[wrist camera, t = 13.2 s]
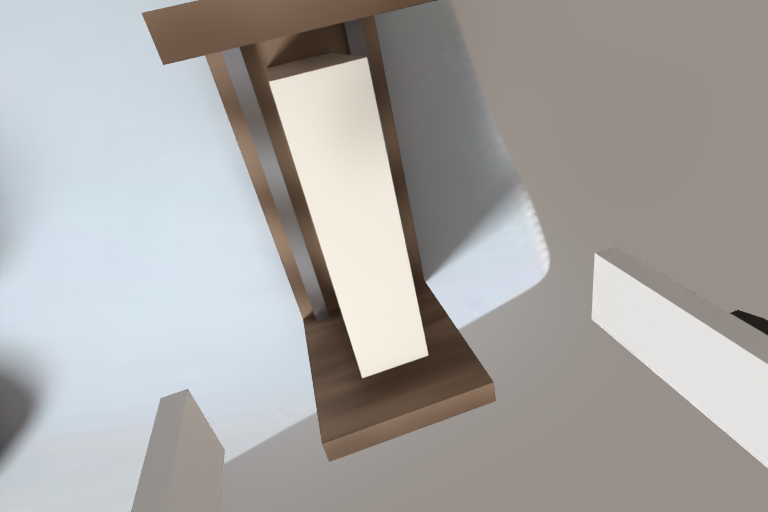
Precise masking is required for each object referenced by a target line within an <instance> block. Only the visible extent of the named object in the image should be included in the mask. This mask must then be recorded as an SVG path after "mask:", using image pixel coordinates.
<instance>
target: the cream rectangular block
mask: <svg viewBox="0 0 768 512" xmlns="http://www.w3.org/2000/svg"><path fill="white" fill-rule="evenodd" d="M266 70H267V75H268V81H269V84H270V87H271V91H272V94H273V97H274V100H275V103H276V106H277V110H278V113H279V116H280V119H281V122H282V125H283V129H284V132H285V135H286V138H287V141H288V144H289V148H290V151H291V154H292V157H293V160H294V163H295V167H296V170H297V173H298V176H299V179H300V182H301V186H302V189H303V192H304V195H305V198H306V201H307V205H308V208H309V211H310V214H311V217H312V220H313V224H314V227H315V230H316V233H317V236H318V239H319V243H320V246H321V249H322V252H323V255H324V258H325V262H326V265H327V268H328V271H329V274H330V277H331V281H332V284H333V287H334V290H335V293H336V296H337V300H338V303H339V306H340V309H341V312H342V315H343V319H344V322H345V325H346V328H347V331H348V334H349V338H350V341H351V344H352V347H353V350H354V353H355V357H356V360H357V363H358V366H359V369H360V372H361V376H362V378H365V377H368V376H370V375H373V374H376V373H379V372H382V371H385V370H388V369H391V368H394V367H397V366H399V365H402V364H405V363H408V362H411V361H414V360H417V359H420V358H423V357H426V356H428V350H427V345H426V341H425V336H424V331H423V326H422V321H421V316H420V312H419V307H418V302H417V297H416V292H415V287H414V283H413V278H412V273H411V268H410V263H409V258H408V253H407V249H406V244H405V239H404V234H403V229H402V224H401V220H400V215H399V210H398V205H397V200H396V195H395V191H394V186H393V181H392V176H391V171H390V166H389V161H388V157H387V152H386V147H385V142H384V137H383V132H382V128H381V123H380V118H379V113H378V108H377V103H376V99H375V94H374V89H373V84H372V79H371V74H370V70H369V65H368V60H367V57H361V56H354V55H348V54H341V53H334V52H330V53H326V54H322V55H318V56H314V57H310V58H306V59H302V60H298V61H294V62H289V63H285V64H281V65H277V66H273V67H269V68H266Z"/></svg>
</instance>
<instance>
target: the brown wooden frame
mask: <svg viewBox="0 0 768 512" xmlns="http://www.w3.org/2000/svg"><path fill="white" fill-rule="evenodd" d="M432 1H436V0H198V1H194V2H189V3H185V4H180V5H176V6H171V7H167V8H162V9H157V10H153V11H148V12H144V13H142V15H143V17H144V20H145V22H146V25H147V27H148V29H149V32H150V34H151V36H152V39H153V41H154V44H155V46H156V48H157V51H158V53H159V56H160V58H161V60H162V63H163V65H165V64H170V63H174V62H178V61H182V60H187V59H191V58H195V57H199V56H204V55H205V56H206V59H207V62H208V64H209V67H210V70H211V72H212V75H213V78H214V80H215V83H216V86H217V88H218V91H219V94H220V97H221V99H222V102H223V105H224V107H225V110H226V113H227V115H228V118H229V121H230V123H231V126H232V129H233V132H234V134H235V137H236V140H237V142H238V145H239V148H240V150H241V153H242V156H243V158H244V161H245V164H246V167H247V169H248V172H249V175H250V177H251V180H252V183H253V185H254V188H255V191H256V193H257V196H258V199H259V202H260V204H261V207H262V210H263V212H264V215H265V218H266V220H267V223H268V226H269V228H270V231H271V234H272V237H273V239H274V242H275V245H276V247H277V250H278V253H279V255H280V258H281V261H282V264H283V266H284V269H285V272H286V274H287V277H288V280H289V282H290V285H291V288H292V290H293V293H294V296H295V299H296V301H297V304H298V307H299V309H300V312H301V315H302V317H303V321H304V328H305V335H306V341H307V348H308V354H309V361H310V368H311V374H312V381H313V388H314V394H315V401H316V407H317V414H318V421H319V426H320V434H321V440H322V445H323V447H324V450H325V452H326V455H327V457H328V460H329V461H333V460H336V459H338V458H341V457H344V456H347V455H349V454H352V453H355V452H357V451H360V450H363V449H366V448H368V447H371V446H374V445H377V444H379V443H382V442H384V441H387V440H390V439H393V438H396V437H399V436H401V435H404V434H406V433H409V432H412V431H415V430H418V429H420V428H423V427H426V426H429V425H431V424H434V423H437V422H440V421H442V420H445V419H448V418H451V417H453V416H456V415H458V414H461V413H464V412H467V411H469V410H472V409H475V408H478V407H481V406H483V405H486V404H489V403H492V402H494V401H496V398H495V389H494V382H493V381H492V379H491V378H490V376H489V375H488V373H487V372H486V370H485V369H484V368H483V366H482V365H481V363H480V362H479V360H478V359H477V357H476V356H475V354H474V353H473V351H472V350H471V348H470V347H469V345H468V344H467V342H466V341H465V340H464V338H463V337H462V335H461V334H460V332H459V331H458V329H457V328H456V326H455V325H454V323H453V322H452V320H451V319H450V318H449V316H448V315H447V313H446V312H445V310H444V309H443V307H442V306H441V304H440V303H439V301H438V300H437V299H436V297H435V296H434V294H433V293H432V291H431V290H430V288H429V287H428V285H427V284H426V282H425V281H424V277H423V272H422V267H421V261H420V256H419V251H418V246H417V240H416V235H415V230H414V225H413V219H412V214H411V209H410V204H409V198H408V193H407V188H406V183H405V177H404V172H403V167H402V162H401V156H400V151H399V146H398V141H397V135H396V130H395V125H394V120H393V114H392V109H391V104H390V99H389V93H388V88H387V83H386V78H385V72H384V67H383V62H382V57H381V51H380V46H379V41H378V36H377V30H376V25H375V20H374V15H377V14H381V13H385V12H390V11H394V10H398V9H402V8H407V7H411V6H415V5H419V4H424V3H428V2H432ZM330 52H334V53H341V54H348V55H354V56H361V57H367V60H368V65H369V70H370V74H371V79H372V84H373V89H374V94H375V99H376V103H377V108H378V113H379V118H380V123H381V128H382V132H383V137H384V142H385V147H386V152H387V157H388V161H389V166H390V171H391V176H392V181H393V186H394V191H395V195H396V200H397V205H398V210H399V215H400V220H401V224H402V229H403V234H404V239H405V244H406V249H407V253H408V258H409V263H410V268H411V273H412V278H413V283H414V287H415V292H416V297H417V302H418V307H419V312H420V316H421V321H422V326H423V331H424V336H425V341H426V345H427V350H428V356H426V357H423V358H420V359H417V360H414V361H411V362H408V363H405V364H402V365H399V366H397V367H394V368H391V369H388V370H385V371H382V372H379V373H376V374H373V375H370V376H368V377H365V378H362V376H361V372H360V369H359V366H358V363H357V360H356V357H355V353H354V350H353V347H352V344H351V341H350V338H349V334H348V331H347V328H346V325H345V322H344V319H343V315H342V312H341V309H340V306H339V303H338V300H337V296H336V293H335V290H334V287H333V284H332V281H331V277H330V274H329V271H328V268H327V265H326V262H325V258H324V255H323V252H322V249H321V246H320V243H319V239H318V236H317V233H316V230H315V227H314V224H313V220H312V217H311V214H310V211H309V208H308V205H307V201H306V198H305V195H304V192H303V189H302V186H301V182H300V179H299V176H298V173H297V170H296V167H295V163H294V160H293V157H292V154H291V151H290V148H289V144H288V141H287V138H286V135H285V132H284V129H283V125H282V122H281V119H280V116H279V113H278V110H277V106H276V103H275V100H274V97H273V94H272V91H271V87H270V84H269V81H268V75H267V70H266V68H269V67H273V66H277V65H281V64H285V63H289V62H294V61H298V60H302V59H306V58H310V57H314V56H318V55H322V54H326V53H330Z"/></svg>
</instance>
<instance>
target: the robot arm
mask: <svg viewBox="0 0 768 512" xmlns="http://www.w3.org/2000/svg"><path fill="white" fill-rule="evenodd" d="M592 320H593V321H595V322H596V323H597V324H598V325H599V326H600V327H602V328H603V329H604V330H605V331H607V333H609V334H610V335H611V336H612V337H613V338H615V339H616V340H617V341H618V342H619V343H620V344H622V345H623V346H624V347H625V348H626V349H628V350H629V351H630V352H631V353H632V354H634V355H635V356H636V357H637V358H638V359H640V360H641V361H642V362H643V363H644V364H645V365H647V366H648V367H649V368H650V369H651V370H652V371H654V372H655V373H656V374H657V375H658V376H660V377H661V378H662V379H663V380H664V381H665V382H667V383H668V384H669V385H670V386H671V387H673V388H674V389H675V390H676V391H677V392H678V393H680V394H681V395H682V396H683V397H685V398H686V399H687V400H688V401H689V402H690V403H691V404H693V405H694V406H695V407H696V408H697V409H699V410H700V411H701V412H702V413H703V414H704V415H706V416H707V417H708V418H709V419H710V420H712V421H713V422H714V423H715V424H716V425H718V426H719V427H720V428H721V429H722V430H723V431H725V432H726V433H727V434H728V435H729V436H730V437H732V438H733V439H734V440H735V441H736V442H738V443H739V444H740V445H741V446H742V447H743V448H745V449H746V450H747V451H748V452H749V453H751V454H752V455H753V456H754V457H755V458H757V459H758V460H759V461H760V462H761V463H762V464H764V465H765V466H766V467H767V468H768V321H767V320H765V319H764V318H761V317H757V316H755V315H752V314H749V313H745V312H742V311H739V310H737V311H734V312H732V313H729V312H727V311H725V310H724V309H722V308H720V307H718V306H717V305H715V304H713V303H711V302H710V301H708V300H706V299H705V298H703V297H701V296H699V295H698V294H696V293H694V292H693V291H691V290H689V289H688V288H686V287H684V286H683V285H681V284H679V283H677V282H676V281H674V280H672V279H671V278H669V277H667V276H666V275H664V274H662V273H660V272H659V271H657V270H655V269H654V268H652V267H650V266H649V265H647V264H645V263H643V262H642V261H640V260H638V259H637V258H635V257H633V256H631V255H630V254H628V253H626V252H625V251H623V250H621V249H620V248H618V247H616V246H615V247H612V248H609V249H606V250H603V251H600V252H597V253H595V261H594V282H593V303H592ZM224 451H225V450H224V448H223V446H222V445H221V443H220V441H219V440H218V438H217V437H216V435H215V433H214V432H213V430H212V428H211V427H210V425H209V423H208V422H207V420H206V418H205V417H204V415H203V413H202V412H201V410H200V408H199V407H198V405H197V403H196V402H195V400H194V398H193V397H192V395H191V393H190V392H189V390H188V389H187V390H184V391H181V392H178V393H175V394H172V395H169V396H166V397H163V398H161V399H160V403H159V407H158V410H157V414H156V418H155V422H154V426H153V430H152V433H151V437H150V441H149V445H148V449H147V453H146V456H145V460H144V464H143V468H142V472H141V476H140V479H139V483H138V487H137V491H136V495H135V499H134V502H133V506H132V510H131V512H220V505H221V491H222V478H223V465H224Z"/></svg>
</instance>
